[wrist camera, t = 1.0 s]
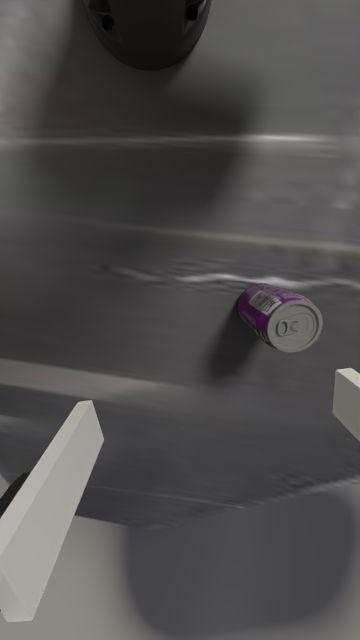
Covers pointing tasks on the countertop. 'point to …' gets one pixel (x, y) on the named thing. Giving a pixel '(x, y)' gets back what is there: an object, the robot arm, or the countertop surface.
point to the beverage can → (280, 317)
